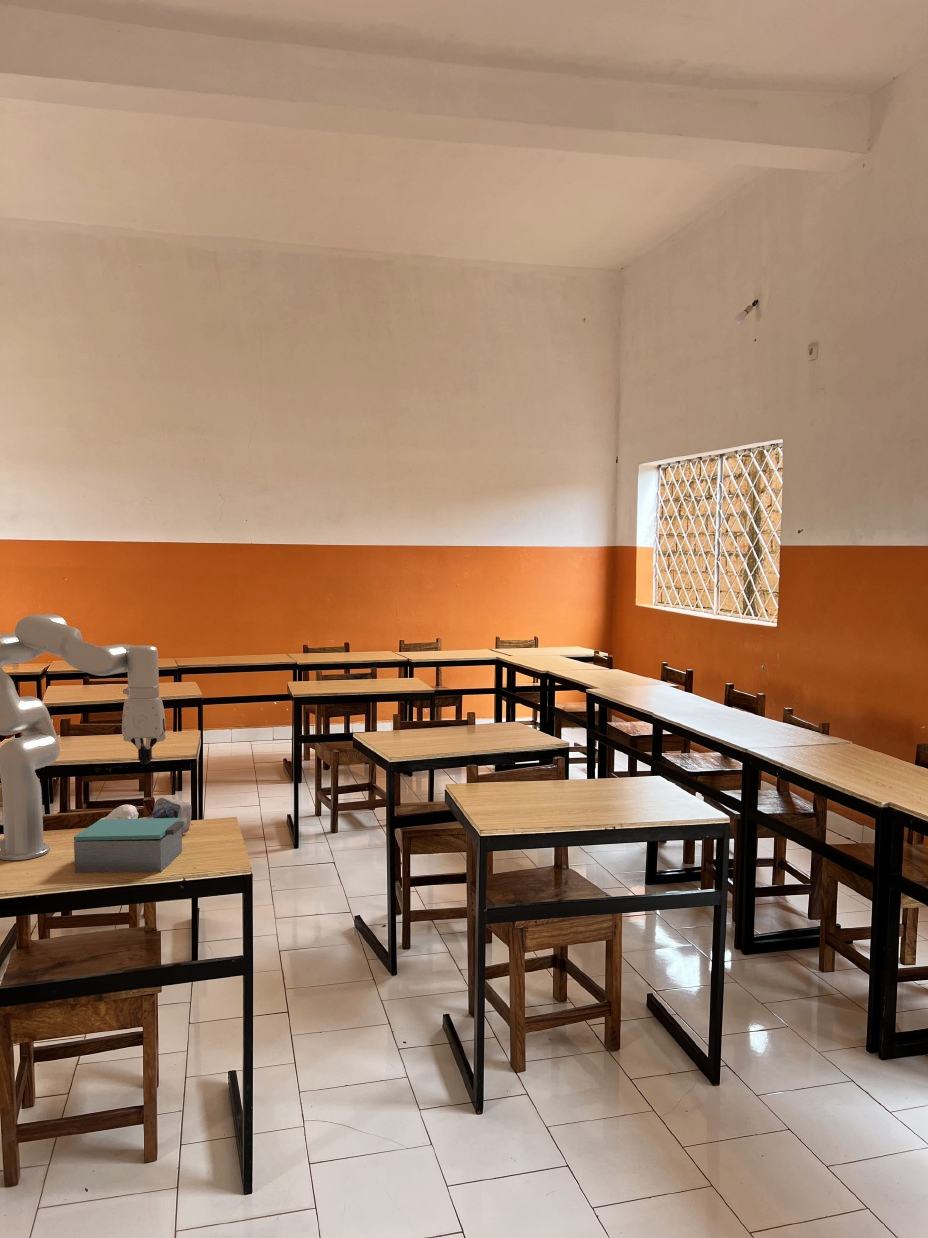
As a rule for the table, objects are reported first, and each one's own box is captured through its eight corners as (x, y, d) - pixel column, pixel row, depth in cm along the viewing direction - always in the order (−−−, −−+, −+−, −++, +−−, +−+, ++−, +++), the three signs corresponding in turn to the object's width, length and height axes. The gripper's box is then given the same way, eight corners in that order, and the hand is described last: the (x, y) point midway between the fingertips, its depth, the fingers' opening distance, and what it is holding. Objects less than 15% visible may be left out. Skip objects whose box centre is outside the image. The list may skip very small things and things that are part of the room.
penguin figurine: (128, 807, 259) (89, 810, 260) (132, 836, 259) (93, 839, 260) (139, 801, 265) (100, 805, 266) (142, 830, 265) (104, 833, 267)
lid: (73, 841, 228) (73, 836, 228) (100, 823, 244) (100, 819, 244) (168, 839, 228) (168, 834, 228) (188, 821, 244) (188, 817, 244)
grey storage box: (74, 872, 229) (73, 841, 228) (101, 853, 245) (100, 824, 244) (161, 872, 228) (160, 840, 228) (182, 852, 244) (181, 823, 244)
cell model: (196, 796, 262) (145, 815, 244) (198, 833, 263) (147, 854, 245) (162, 792, 267) (109, 810, 249) (163, 828, 268) (111, 848, 250)
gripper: (109, 695, 230) (110, 766, 231) (167, 695, 230) (168, 766, 231) (120, 691, 238) (122, 760, 239) (177, 691, 238) (178, 760, 239)
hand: (145, 763), depth 235 cm, fingers closed
